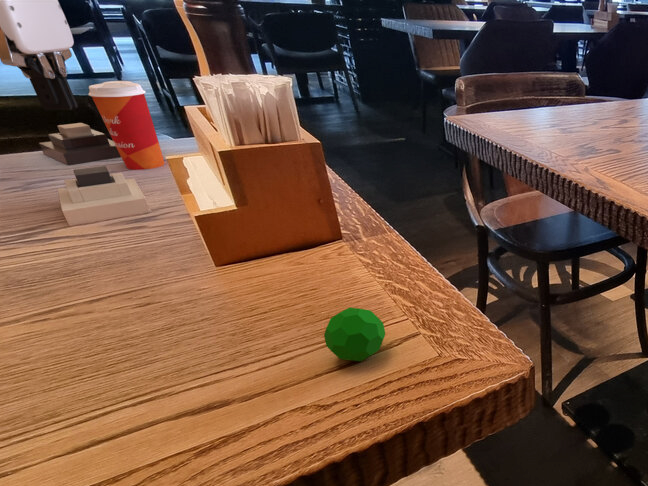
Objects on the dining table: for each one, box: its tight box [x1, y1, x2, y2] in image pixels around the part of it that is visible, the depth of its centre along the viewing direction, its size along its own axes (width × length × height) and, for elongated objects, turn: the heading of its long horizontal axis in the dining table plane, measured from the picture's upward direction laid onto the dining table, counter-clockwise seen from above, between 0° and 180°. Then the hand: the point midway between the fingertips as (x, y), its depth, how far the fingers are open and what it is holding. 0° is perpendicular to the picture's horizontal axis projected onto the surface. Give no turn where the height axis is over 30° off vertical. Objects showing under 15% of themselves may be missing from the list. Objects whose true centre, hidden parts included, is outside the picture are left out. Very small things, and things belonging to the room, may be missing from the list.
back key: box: [57, 122, 93, 138], centre depth 98 cm, size 4×4×2 cm
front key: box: [73, 165, 113, 187], centre depth 76 cm, size 4×4×2 cm
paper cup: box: [88, 82, 165, 171], centre depth 93 cm, size 8×8×14 cm
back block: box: [38, 128, 121, 167], centre depth 100 cm, size 12×9×4 cm
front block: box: [57, 172, 152, 227], centre depth 77 cm, size 12×9×4 cm
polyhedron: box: [323, 307, 386, 362], centre depth 48 cm, size 5×5×5 cm
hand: (61, 108), depth 71 cm, fingers closed
